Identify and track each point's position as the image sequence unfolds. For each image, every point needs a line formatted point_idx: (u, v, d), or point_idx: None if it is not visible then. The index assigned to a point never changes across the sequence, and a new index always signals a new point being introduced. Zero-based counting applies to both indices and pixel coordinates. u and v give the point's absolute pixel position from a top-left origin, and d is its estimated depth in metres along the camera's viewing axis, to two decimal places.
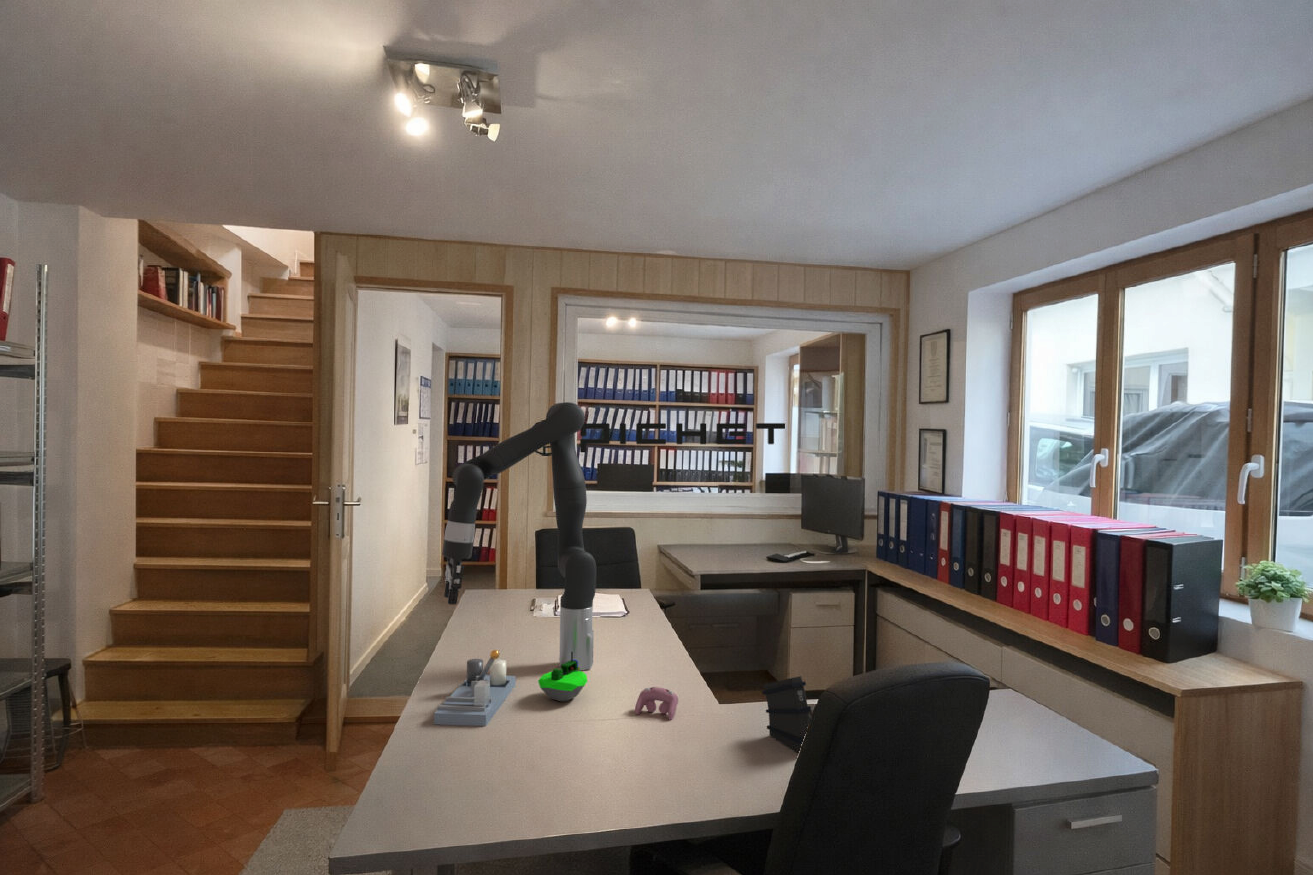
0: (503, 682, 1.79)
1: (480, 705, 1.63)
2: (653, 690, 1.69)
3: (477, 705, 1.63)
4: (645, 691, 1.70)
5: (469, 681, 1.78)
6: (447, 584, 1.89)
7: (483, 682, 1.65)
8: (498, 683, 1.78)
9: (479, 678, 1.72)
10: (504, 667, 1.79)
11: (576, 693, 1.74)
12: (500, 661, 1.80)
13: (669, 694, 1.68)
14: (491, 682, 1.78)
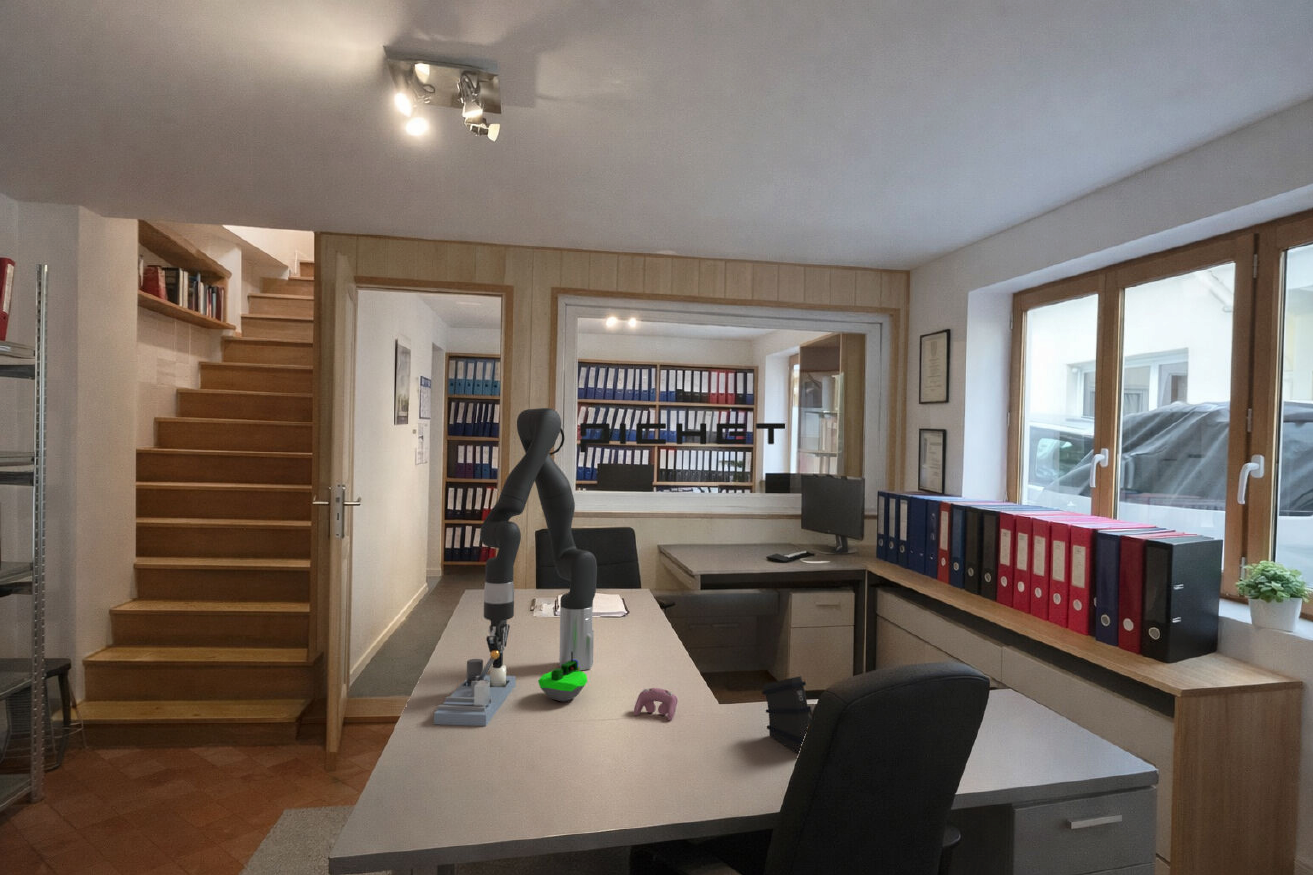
0: None
1: (480, 705, 1.63)
2: (652, 691, 1.68)
3: (477, 705, 1.63)
4: (644, 692, 1.69)
5: (469, 681, 1.78)
6: None
7: (483, 682, 1.65)
8: None
9: (479, 678, 1.72)
10: (504, 672, 1.79)
11: (576, 693, 1.74)
12: None
13: (668, 695, 1.67)
14: None
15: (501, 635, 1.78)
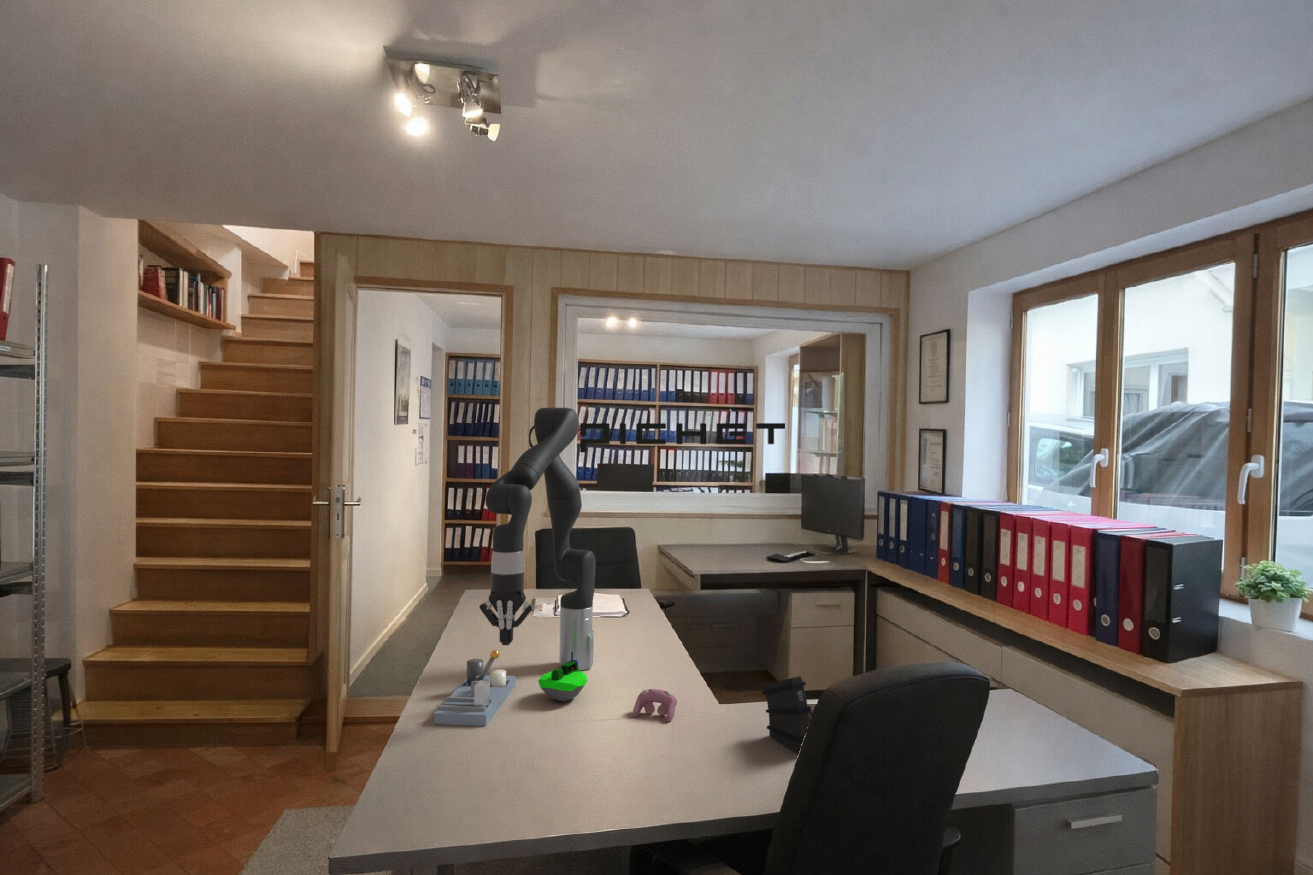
0: None
1: (480, 705, 1.63)
2: (652, 692, 1.68)
3: (477, 705, 1.63)
4: (643, 693, 1.68)
5: (469, 681, 1.78)
6: None
7: (483, 682, 1.65)
8: None
9: (479, 678, 1.72)
10: (504, 677, 1.79)
11: (576, 693, 1.74)
12: (499, 671, 1.80)
13: (668, 696, 1.67)
14: None
15: None
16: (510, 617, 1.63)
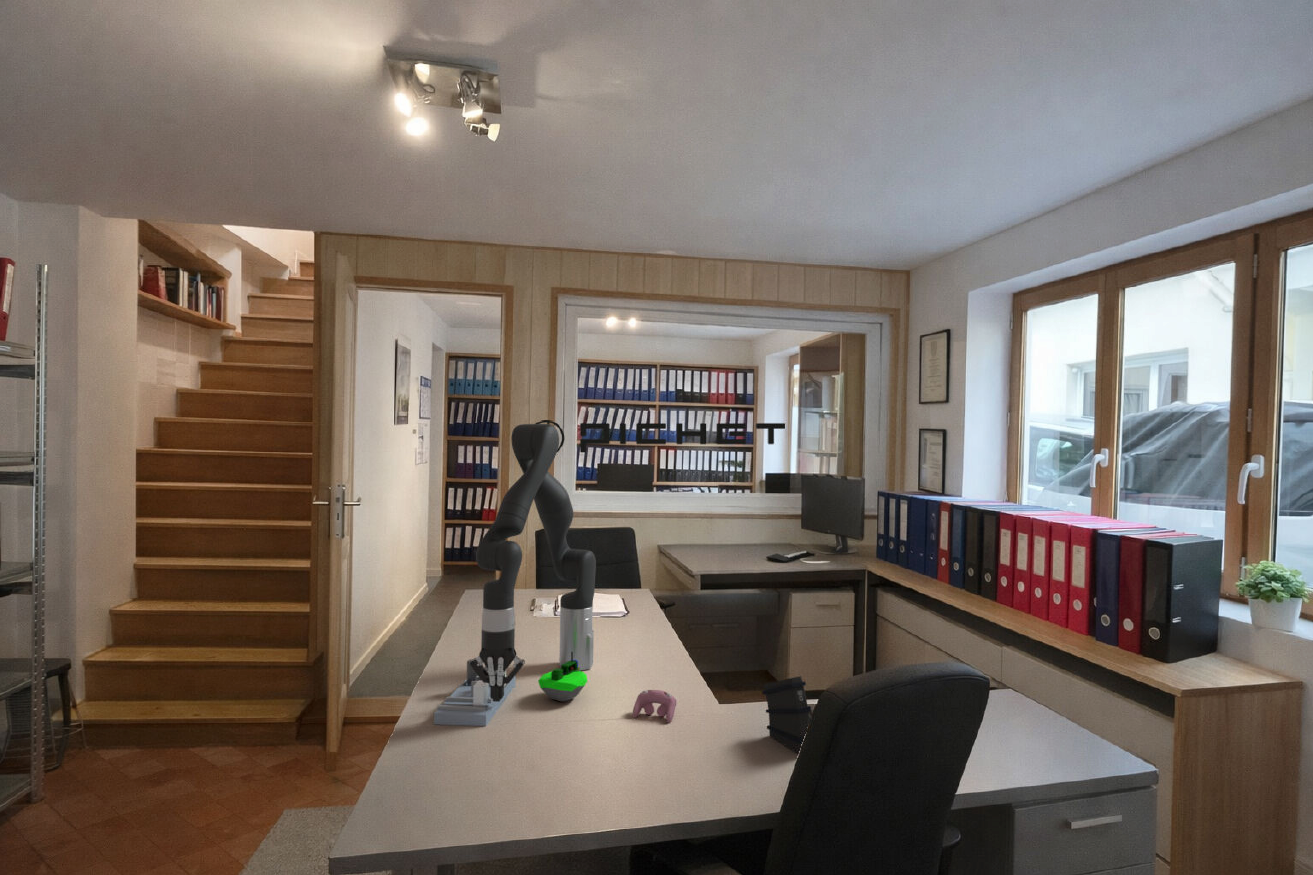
0: None
1: (479, 705, 1.63)
2: (651, 693, 1.67)
3: (476, 705, 1.63)
4: (643, 694, 1.68)
5: (469, 681, 1.78)
6: None
7: (482, 682, 1.65)
8: None
9: (479, 678, 1.72)
10: None
11: (576, 693, 1.74)
12: None
13: (667, 697, 1.66)
14: None
15: (488, 665, 1.63)
16: (501, 674, 1.63)
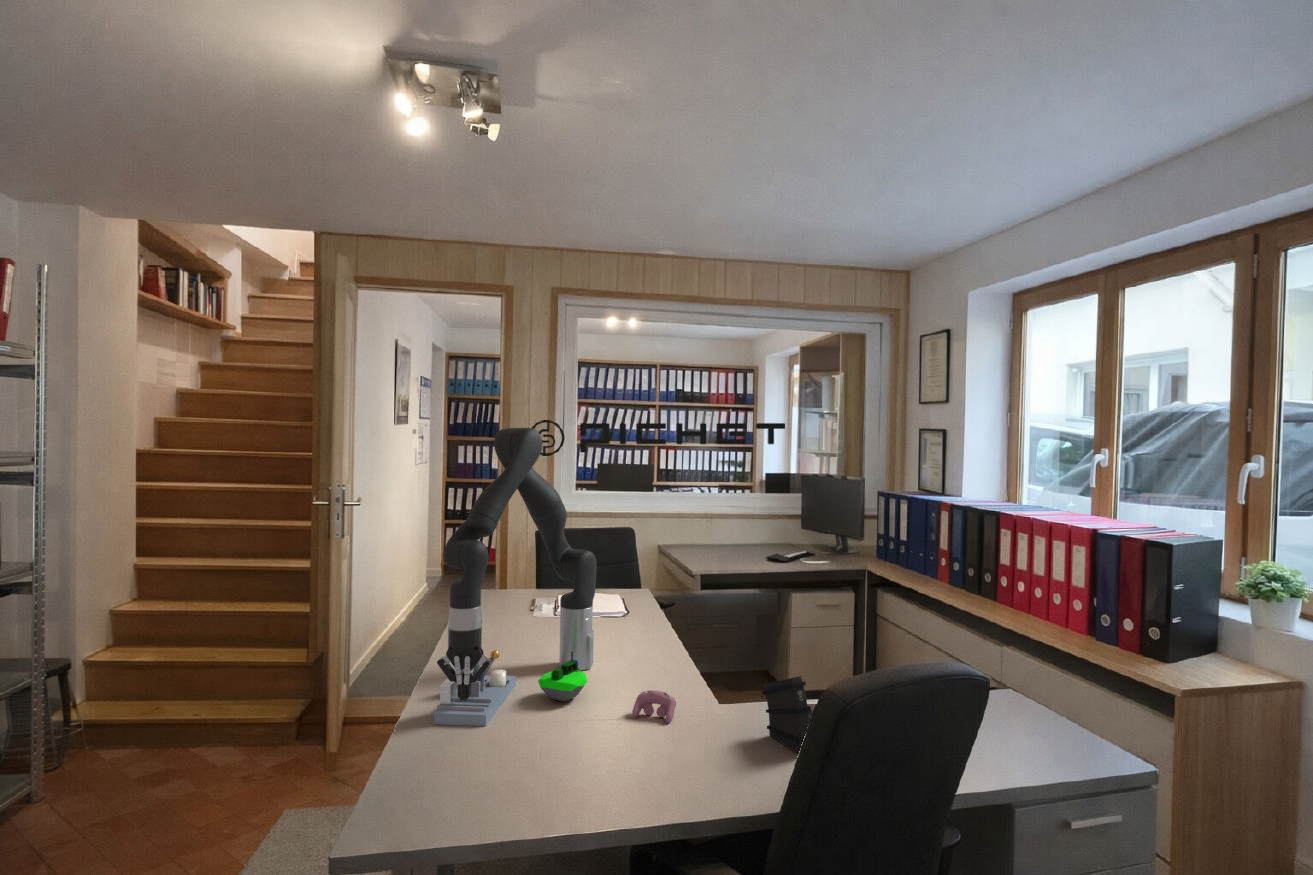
0: None
1: (446, 704, 1.63)
2: (651, 693, 1.67)
3: (443, 704, 1.63)
4: (642, 694, 1.68)
5: None
6: None
7: (449, 681, 1.66)
8: None
9: (479, 678, 1.72)
10: (504, 677, 1.79)
11: (576, 693, 1.74)
12: (499, 671, 1.80)
13: (667, 697, 1.66)
14: None
15: (455, 664, 1.64)
16: (468, 672, 1.63)
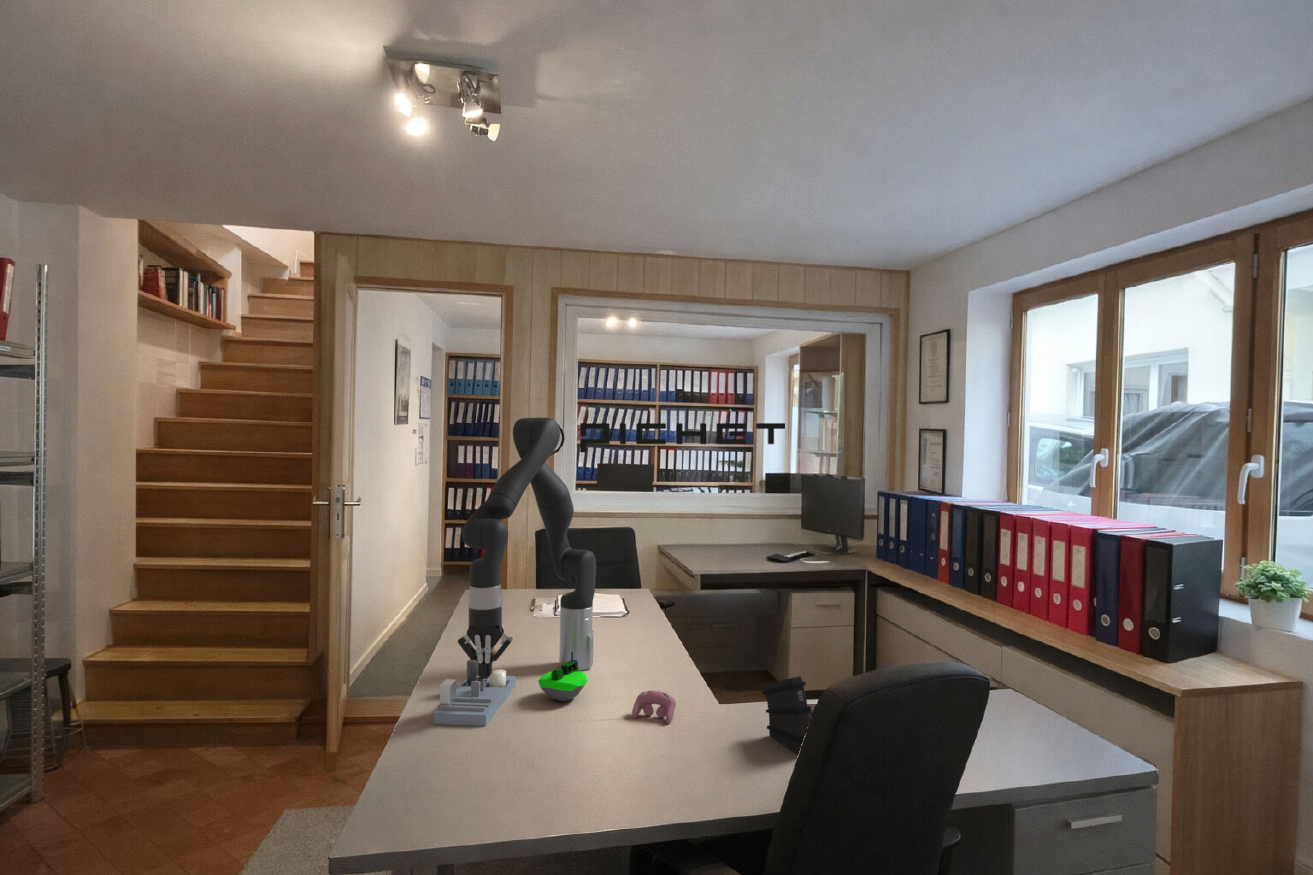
0: None
1: (446, 704, 1.63)
2: (651, 694, 1.66)
3: (443, 704, 1.63)
4: (642, 695, 1.67)
5: (469, 681, 1.78)
6: None
7: (449, 681, 1.66)
8: None
9: (479, 678, 1.72)
10: (504, 677, 1.79)
11: (576, 693, 1.74)
12: (499, 671, 1.80)
13: (667, 697, 1.65)
14: None
15: (475, 642, 1.63)
16: (488, 651, 1.63)
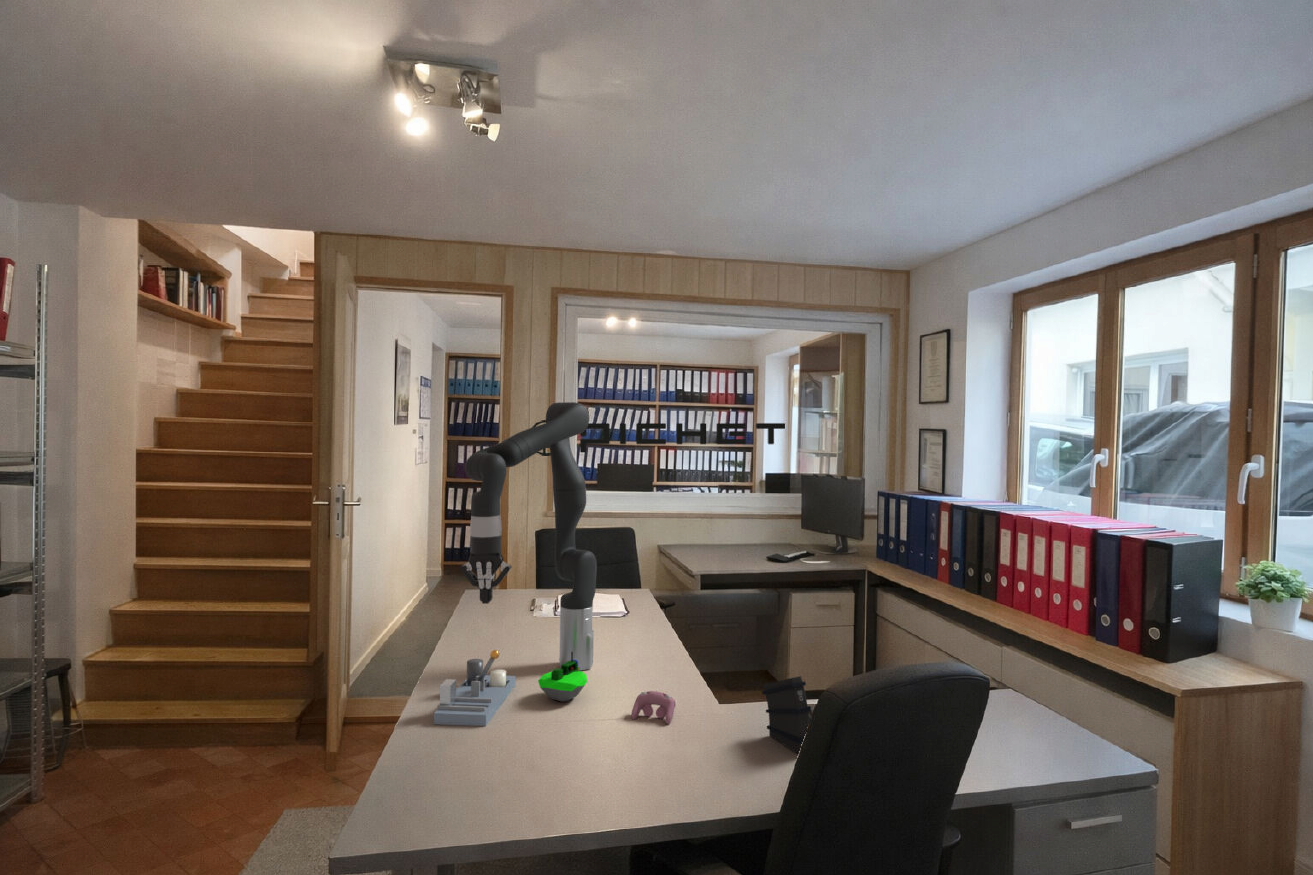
0: None
1: (446, 704, 1.63)
2: (650, 694, 1.66)
3: (443, 704, 1.63)
4: (642, 695, 1.67)
5: (469, 681, 1.78)
6: None
7: (449, 681, 1.66)
8: None
9: (479, 678, 1.72)
10: (504, 677, 1.79)
11: (576, 693, 1.74)
12: (499, 671, 1.80)
13: (666, 698, 1.65)
14: None
15: (477, 569, 1.74)
16: (489, 577, 1.74)
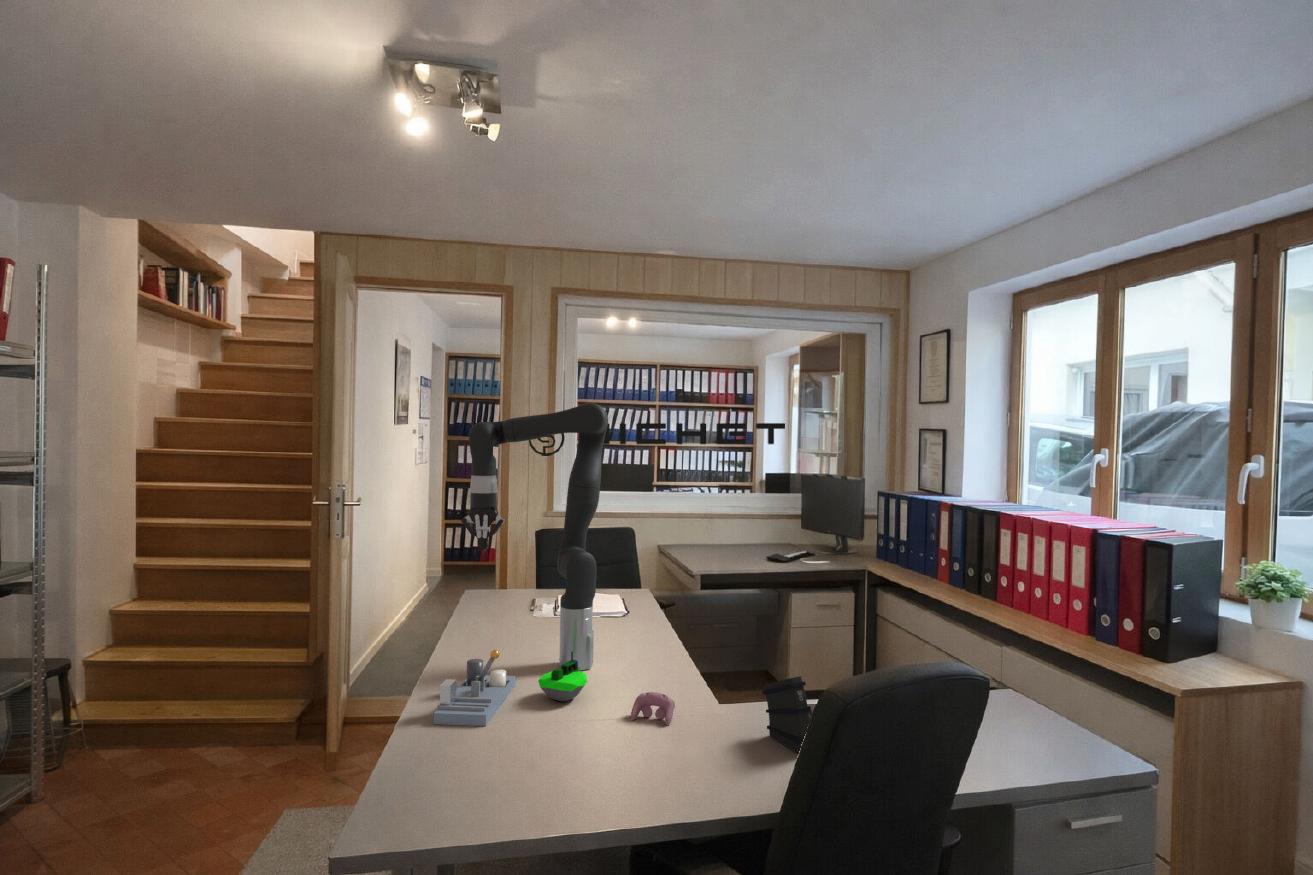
0: None
1: (446, 704, 1.63)
2: (650, 695, 1.65)
3: (443, 704, 1.63)
4: (641, 696, 1.66)
5: (469, 681, 1.78)
6: None
7: (449, 681, 1.66)
8: None
9: (479, 678, 1.72)
10: (504, 677, 1.79)
11: (576, 693, 1.74)
12: (499, 671, 1.80)
13: (666, 699, 1.64)
14: None
15: (475, 521, 2.04)
16: (486, 528, 2.03)
